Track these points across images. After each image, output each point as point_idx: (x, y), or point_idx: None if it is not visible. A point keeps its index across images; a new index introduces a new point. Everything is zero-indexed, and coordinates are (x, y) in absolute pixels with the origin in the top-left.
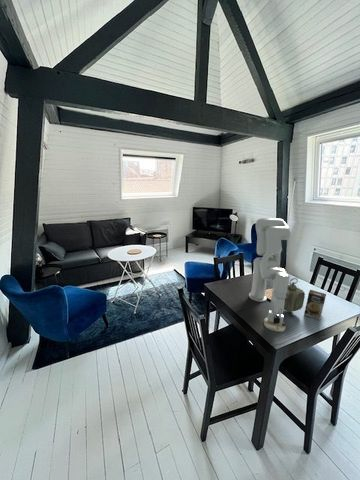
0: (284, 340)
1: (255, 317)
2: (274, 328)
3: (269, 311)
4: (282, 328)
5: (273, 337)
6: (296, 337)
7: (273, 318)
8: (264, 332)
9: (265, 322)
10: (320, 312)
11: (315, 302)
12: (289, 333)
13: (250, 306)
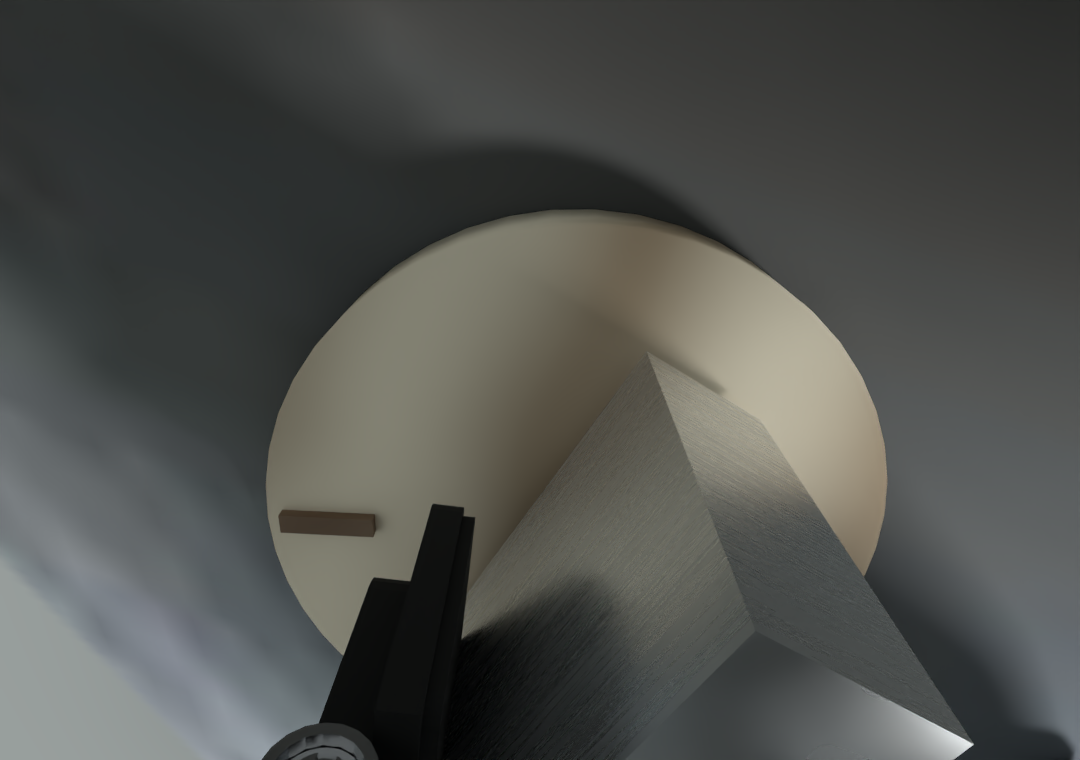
0: (4, 494)
1: (1026, 19)
2: (308, 433)
3: (851, 710)
4: (349, 627)
5: (20, 268)
6: (199, 738)
7: (546, 608)
8: (179, 60)
9: (599, 261)
10: None
11: None
12: (299, 676)
13: None
